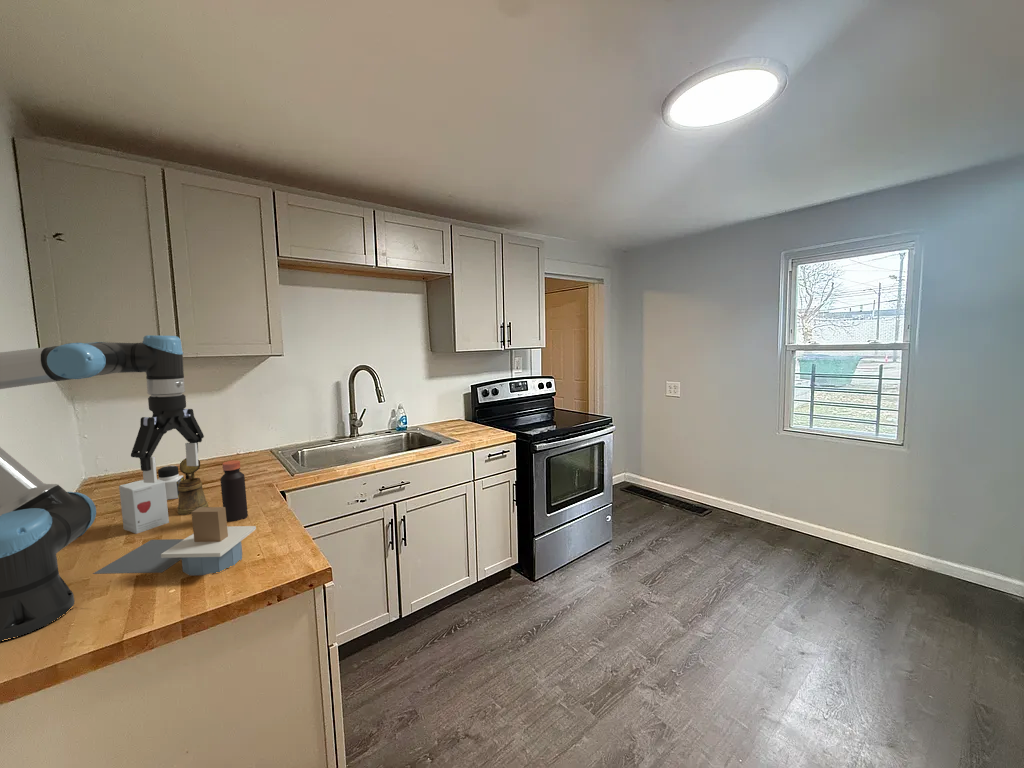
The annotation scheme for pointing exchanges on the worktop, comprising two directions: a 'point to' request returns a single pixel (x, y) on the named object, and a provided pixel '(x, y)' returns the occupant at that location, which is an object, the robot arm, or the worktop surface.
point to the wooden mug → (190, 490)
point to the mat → (144, 559)
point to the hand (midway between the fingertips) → (172, 473)
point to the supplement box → (143, 505)
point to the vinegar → (233, 491)
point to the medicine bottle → (170, 480)
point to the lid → (209, 535)
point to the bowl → (212, 562)
